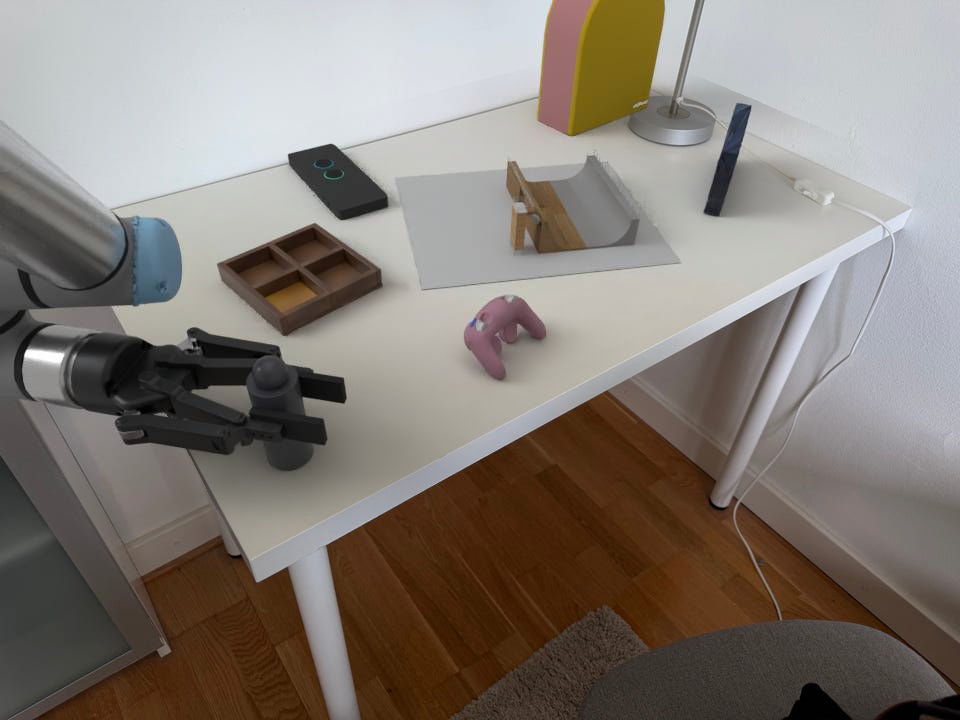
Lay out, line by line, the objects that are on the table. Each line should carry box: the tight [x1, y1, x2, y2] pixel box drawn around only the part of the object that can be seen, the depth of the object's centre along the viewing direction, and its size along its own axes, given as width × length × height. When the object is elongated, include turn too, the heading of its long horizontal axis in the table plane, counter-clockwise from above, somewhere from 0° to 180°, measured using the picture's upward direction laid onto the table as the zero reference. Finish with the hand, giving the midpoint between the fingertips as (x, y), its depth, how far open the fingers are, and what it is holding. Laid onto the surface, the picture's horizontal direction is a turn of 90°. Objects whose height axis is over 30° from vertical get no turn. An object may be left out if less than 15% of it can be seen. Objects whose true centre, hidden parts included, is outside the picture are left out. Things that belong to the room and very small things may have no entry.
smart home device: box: [287, 143, 389, 221], centre depth 105 cm, size 8×2×20 cm
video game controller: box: [463, 294, 547, 380], centre depth 77 cm, size 10×5×7 cm, turn 144°
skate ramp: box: [394, 149, 682, 290], centre depth 97 cm, size 29×35×8 cm
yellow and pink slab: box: [536, 0, 666, 137], centre depth 118 cm, size 21×9×26 cm, turn 130°
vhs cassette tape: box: [703, 102, 753, 217], centre depth 104 cm, size 18×3×10 cm, turn 157°
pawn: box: [245, 355, 314, 471], centre depth 62 cm, size 4×4×12 cm
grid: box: [216, 222, 383, 337], centre depth 86 cm, size 14×14×3 cm
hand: (333, 410), depth 61 cm, fingers closed on pawn, 4 cm apart
